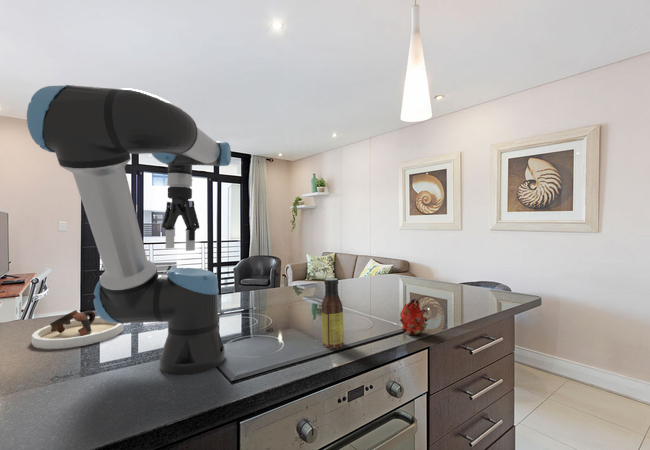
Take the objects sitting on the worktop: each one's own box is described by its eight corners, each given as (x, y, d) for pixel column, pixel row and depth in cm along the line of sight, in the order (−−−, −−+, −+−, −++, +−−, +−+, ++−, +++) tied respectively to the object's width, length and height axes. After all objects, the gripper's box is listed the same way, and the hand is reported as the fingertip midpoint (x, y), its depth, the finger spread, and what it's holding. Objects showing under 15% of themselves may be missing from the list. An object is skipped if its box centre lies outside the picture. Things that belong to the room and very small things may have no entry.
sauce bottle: (346, 345, 93) (347, 278, 93) (338, 353, 87) (339, 281, 87) (326, 341, 95) (327, 276, 95) (317, 348, 90) (318, 279, 90)
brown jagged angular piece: (75, 341, 93) (59, 318, 92) (54, 352, 95) (38, 329, 94) (108, 320, 104) (94, 299, 103) (89, 330, 107) (75, 310, 106)
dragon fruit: (408, 342, 95) (409, 302, 95) (394, 333, 103) (394, 296, 103) (432, 339, 98) (432, 300, 98) (416, 330, 106) (416, 295, 106)
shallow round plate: (134, 333, 101) (134, 325, 101) (43, 356, 84) (43, 346, 84) (108, 319, 115) (108, 312, 115) (25, 337, 97) (25, 328, 97)
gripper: (210, 185, 102) (210, 250, 102) (172, 190, 118) (172, 246, 118) (188, 183, 96) (188, 252, 96) (151, 188, 112) (151, 248, 112)
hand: (179, 249), depth 107 cm, fingers open, 13 cm apart
